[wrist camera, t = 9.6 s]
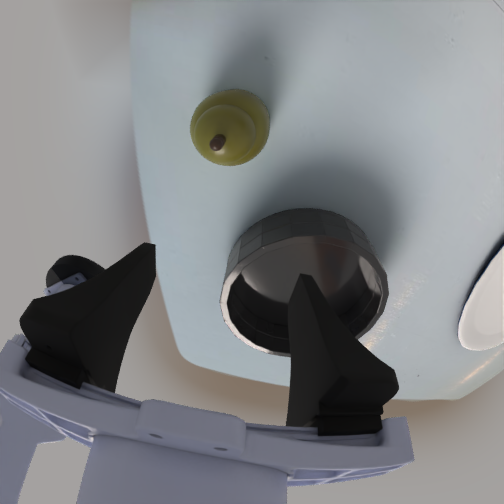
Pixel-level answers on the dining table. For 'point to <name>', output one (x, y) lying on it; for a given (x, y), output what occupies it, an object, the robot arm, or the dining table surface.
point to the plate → (485, 308)
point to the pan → (289, 268)
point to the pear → (230, 127)
